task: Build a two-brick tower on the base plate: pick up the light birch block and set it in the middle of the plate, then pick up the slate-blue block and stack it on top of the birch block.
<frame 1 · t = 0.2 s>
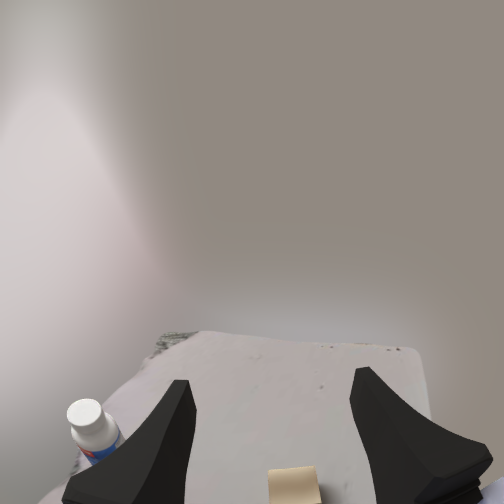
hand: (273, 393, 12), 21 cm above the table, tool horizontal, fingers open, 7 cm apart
pill bottle: (116, 463, 26), on the table
birch block: (291, 501, 22), on the table
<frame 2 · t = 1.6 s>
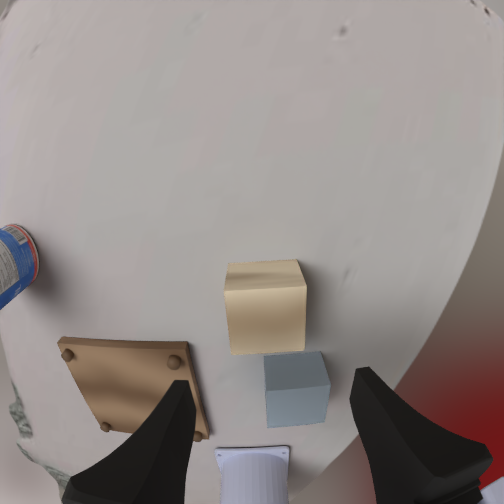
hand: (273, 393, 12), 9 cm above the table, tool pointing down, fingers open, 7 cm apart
pill bottle: (20, 253, 20), on the table
base plate: (136, 391, 24), on the table
birch block: (263, 291, 21), on the table
slate block: (291, 373, 24), on the table
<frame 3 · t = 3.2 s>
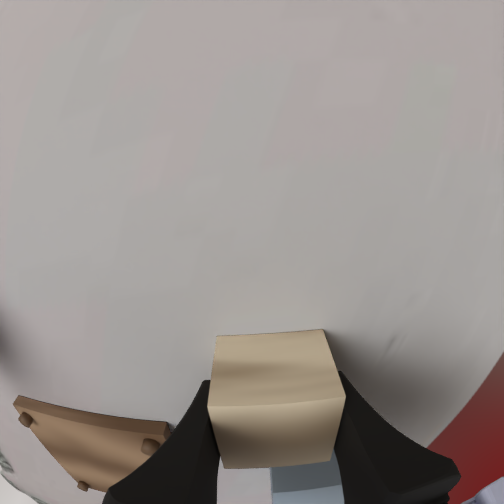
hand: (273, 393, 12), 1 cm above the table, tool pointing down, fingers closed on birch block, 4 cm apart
base plate: (112, 459, 17), on the table
birch block: (271, 371, 13), on the table, touching gripper
slate block: (304, 451, 16), on the table
when the fingers open (4 cm above the table, at t = 8.4 s): birch block drops 1 cm, resting on base plate.
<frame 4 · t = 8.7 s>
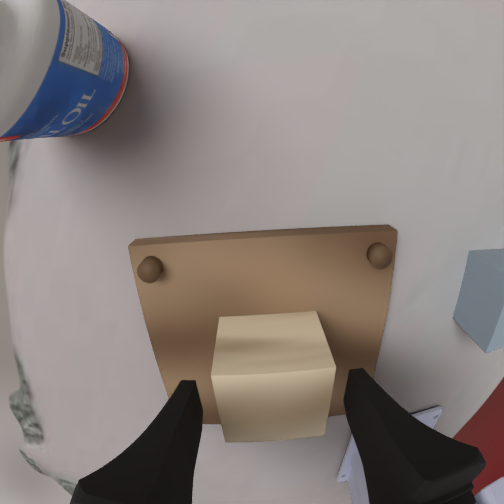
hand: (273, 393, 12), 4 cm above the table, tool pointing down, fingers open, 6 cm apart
pill bottle: (84, 82, 11), on the table
base plate: (268, 340, 16), on the table
birch block: (269, 351, 15), point 1 cm above the table, touching base plate
slate block: (484, 282, 15), on the table
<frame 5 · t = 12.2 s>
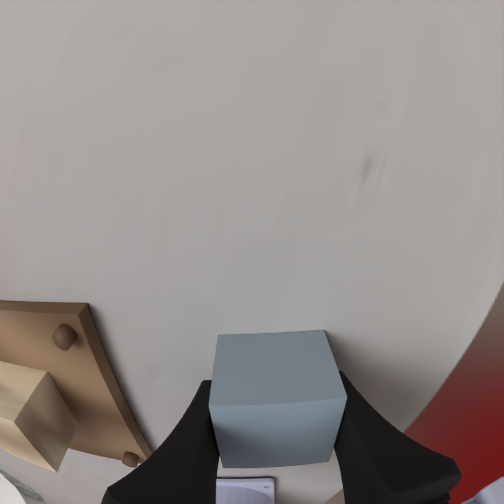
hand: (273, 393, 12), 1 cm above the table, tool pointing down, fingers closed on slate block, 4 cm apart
base plate: (43, 384, 14), on the table
birch block: (36, 393, 13), point 1 cm above the table, touching base plate
slate block: (271, 371, 13), on the table, touching gripper
when the fingers open (8 cm above the table, at t = 16.6 s): slate block drops 1 cm, resting on birch block.
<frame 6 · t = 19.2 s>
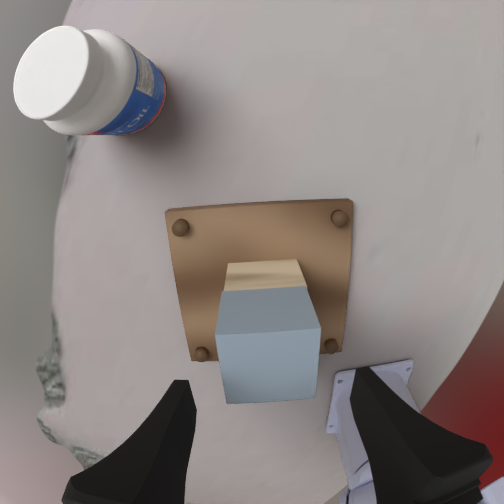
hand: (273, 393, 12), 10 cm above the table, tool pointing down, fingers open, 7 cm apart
pill bottle: (131, 96, 17), on the table
base plate: (263, 285, 22), on the table
birch block: (263, 291, 21), point 1 cm above the table, touching base plate, slate block
slate block: (265, 323, 17), point 5 cm above the table, touching birch block
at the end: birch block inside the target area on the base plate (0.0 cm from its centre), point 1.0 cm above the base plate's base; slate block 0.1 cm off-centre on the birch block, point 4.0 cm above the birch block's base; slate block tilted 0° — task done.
